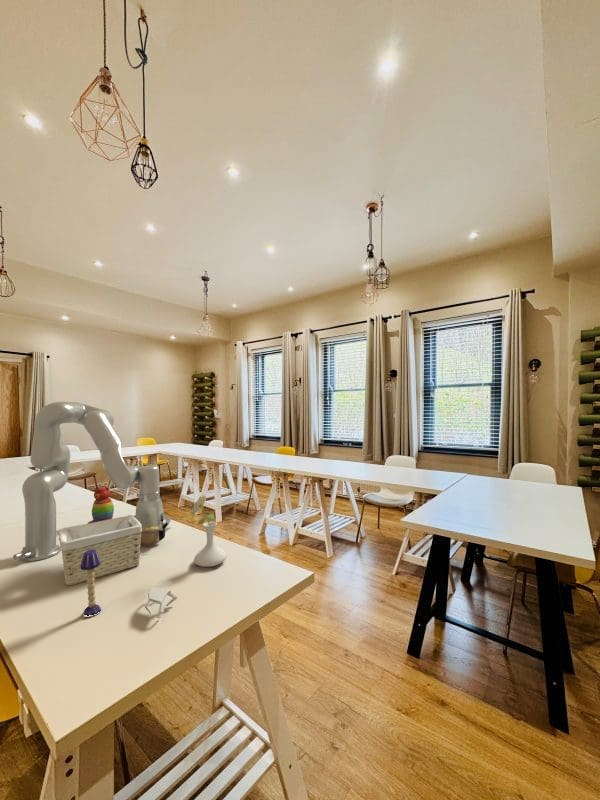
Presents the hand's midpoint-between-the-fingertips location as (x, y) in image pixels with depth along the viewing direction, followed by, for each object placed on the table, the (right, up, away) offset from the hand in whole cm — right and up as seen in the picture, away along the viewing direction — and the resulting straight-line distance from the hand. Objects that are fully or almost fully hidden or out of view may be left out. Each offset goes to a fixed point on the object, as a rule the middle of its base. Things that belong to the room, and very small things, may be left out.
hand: (150, 538), depth 137 cm
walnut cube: (0, -3, 0) cm, 3 cm away
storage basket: (-9, -3, -19) cm, 21 cm away
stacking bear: (-35, -4, +27) cm, 45 cm away
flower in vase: (+28, -2, -16) cm, 33 cm away
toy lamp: (+4, -2, -45) cm, 45 cm away
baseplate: (-6, -3, +12) cm, 13 cm away
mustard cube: (-6, -2, +12) cm, 13 cm away
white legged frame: (+21, -2, -44) cm, 49 cm away
